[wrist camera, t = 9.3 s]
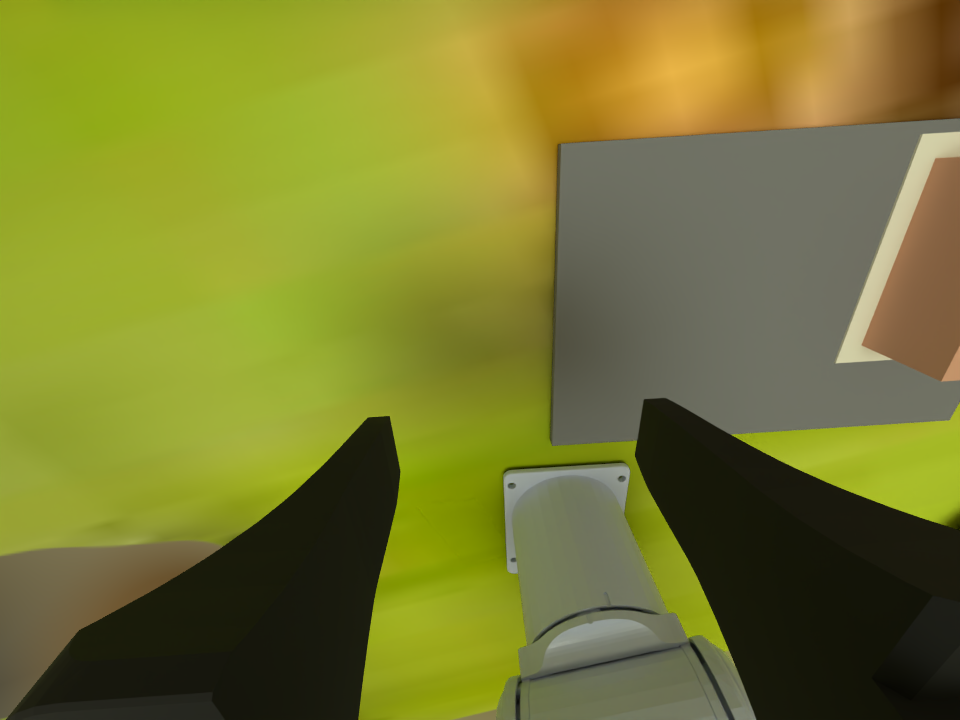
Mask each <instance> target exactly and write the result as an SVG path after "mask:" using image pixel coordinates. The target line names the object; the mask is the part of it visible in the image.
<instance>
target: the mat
mask: <svg viewBox="0 0 960 720" xmlns="http://www.w3.org/2000/svg"><path fill="white" fill-rule="evenodd" d="M946 157H960V119H944V120H928V121H912V122H897V123H881V124H865V125H849V126H833V127H818V128H802V129H786V130H770V131H755V132H739V133H723V134H707V135H692V136H676V137H660V138H644V139H629V140H613V141H597V142H581V143H566V144H558V173H557V210H556V247H555V285H554V322H553V359H552V397H551V434H550V440H551V443H552V446H556V445H571V444H587V443H602V442H618V441H633V440H637V439H638V432H639V426H640V420H641V413H642V407H643V401H644V399H654V398H667V399H669V400H671V401H673V402H675V403H677V404H678V405H680V406H682V407H684V408H685V409H687V410H689V411H691V412H692V413H694V414H696V415H697V416H699V417H701V418H703V419H704V420H706V421H708V422H709V423H711V424H713V425H715V426H716V427H718V428H720V429H721V430H723V431H725V432H727V433H728V434H743V433H758V432H774V431H789V430H805V429H820V428H836V427H852V426H867V425H883V424H898V423H914V422H929V421H945V420H950V418H951V416H952V415H953V413H954V411H955V409H956V408H957V406H958V404H959V402H960V380H957V381H943V382H941V381H939V380H937V379H934V378H932V377H930V376H928V375H926V374H923V373H921V372H919V371H917V370H915V369H912V368H910V367H908V366H906V365H904V364H901V363H899V362H897V361H895V360H893V359H890V358H888V357H886V356H884V355H882V354H879V353H877V352H875V351H873V350H871V349H868V348H866V347H864V346H862V343H863V340H864V338H865V335H866V332H867V330H868V327H869V325H870V322H871V320H872V317H873V315H874V312H875V310H876V307H877V305H878V302H879V300H880V297H881V295H882V292H883V290H884V287H885V284H886V282H887V279H888V277H889V274H890V272H891V269H892V267H893V264H894V262H895V259H896V257H897V254H898V252H899V249H900V247H901V244H902V241H903V239H904V236H905V234H906V231H907V229H908V226H909V224H910V221H911V219H912V216H913V214H914V211H915V209H916V206H917V204H918V201H919V199H920V196H921V193H922V191H923V188H924V186H925V183H926V181H927V178H928V176H929V173H930V171H931V168H932V166H933V163H934V161H935V158H946Z"/></svg>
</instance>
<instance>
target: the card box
mask: <svg viewBox="0 0 960 720" xmlns="http://www.w3.org/2000/svg"><path fill="white" fill-rule="evenodd" d="M862 346H864V347H866V348H868V349H871V350H873V351H875V352H877V353H879V354H882V355H884V356H886V357H888V358H890V359H893V360H895V361H897V362H899V363H901V364H904V365H906V366H908V367H910V368H912V369H915V370H917V371H919V372H921V373H923V374H926V375H928V376H930V377H932V378H934V379H937V380H939V381H941V382H943V381H957V380H960V157H946V158H935V161H934V163H933V166H932V168H931V171H930V173H929V176H928V178H927V181H926V183H925V186H924V188H923V191H922V193H921V196H920V199H919V201H918V204H917V206H916V209H915V211H914V214H913V216H912V219H911V221H910V224H909V226H908V229H907V231H906V234H905V236H904V239H903V241H902V244H901V247H900V249H899V252H898V254H897V257H896V259H895V262H894V264H893V267H892V269H891V272H890V274H889V277H888V279H887V282H886V284H885V287H884V290H883V292H882V295H881V297H880V300H879V302H878V305H877V307H876V310H875V312H874V315H873V317H872V320H871V322H870V325H869V327H868V330H867V332H866V335H865V338H864V340H863V343H862Z"/></svg>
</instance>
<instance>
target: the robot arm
mask: <svg viewBox="0 0 960 720" xmlns="http://www.w3.org/2000/svg"><path fill="white" fill-rule="evenodd" d="M635 457H636V460H637V463H638V465H639V468H640V471H641V473H642V476H643V478H644V480H645V483H646V485H647V487H648V489H649V491H650V493H651V495H652V497H653V498H654V500H655V502H656V504H657V506H658V507H659V509H660V511H661V513H662V515H663V516H664V518H665V520H666V522H667V523H668V525H669V527H670V529H671V530H672V532H673V534H674V536H675V537H676V539H677V541H678V543H679V544H680V546H681V548H682V550H683V551H684V553H685V555H686V557H687V558H688V560H689V562H690V564H691V566H692V568H693V570H694V572H695V574H696V576H697V578H698V580H699V582H700V584H701V586H702V589H703V591H704V593H705V595H706V598H707V600H708V602H709V604H710V606H711V609H712V611H713V613H714V615H715V618H716V620H717V622H718V625H719V627H720V630H721V632H722V634H723V637H724V639H725V642H726V644H727V646H728V649H729V651H730V653H731V656H732V658H733V661H734V663H735V666H736V667H735V666H734V664H733V663H732V661H731V660H730V659H729V657H728V656H727V655H726V653H725V652H724V651H722V650H721V649H720V648H718V647H717V646H715V645H714V644H712V643H710V642H709V641H708V639H706V638H705V637H703V636H701V635H699V636H694V637H689V638H688V639H687V636H686V634H685V632H684V630H683V628H682V626H681V623H680V621H679V619H678V617H677V615H676V614H675V613H669V614H668V611H667V609H666V607H665V605H664V602H663V600H662V598H661V596H660V594H659V591H658V589H657V587H656V585H655V582H654V580H653V578H652V576H651V573H650V571H649V569H648V567H647V565H646V562H645V560H644V558H643V556H642V553H641V551H640V549H639V547H638V545H637V542H636V540H635V538H634V536H633V533H632V531H631V529H630V527H629V525H628V522H627V520H626V518H625V516H624V511H625V504H626V497H627V490H628V483H629V476H630V469H629V467H628V465H627V464H625V463H613V464H597V465H582V466H566V467H550V468H535V469H519V470H509V471H507V472H505V473H504V476H503V481H504V505H505V530H506V555H507V570H508V571H509V572H510V573H518V576H519V584H520V592H521V600H522V608H523V616H524V624H525V632H526V640H527V646H525V647H522V648H519V649H518V653H519V663H520V673H521V675H517V676H513V677H510V678H509V679H508V680H507V682H506V684H505V687H504V691H503V693H502V695H501V697H500V700H499V703H498V707H497V716H496V720H960V530H957V529H953V528H950V527H947V526H944V525H941V524H938V523H935V522H932V521H929V520H925V519H922V518H919V517H917V516H914V515H911V514H908V513H905V512H902V511H899V510H896V509H893V508H891V507H888V506H885V505H883V504H880V503H877V502H875V501H872V500H870V499H867V498H864V497H862V496H859V495H856V494H854V493H851V492H849V491H846V490H844V489H841V488H839V487H836V486H834V485H832V484H829V483H827V482H825V481H822V480H820V479H818V478H816V477H813V476H811V475H809V474H807V473H804V472H802V471H800V470H798V469H796V468H793V467H791V466H789V465H787V464H785V463H783V462H781V461H779V460H777V459H775V458H773V457H771V456H769V455H767V454H765V453H763V452H762V451H760V450H758V449H756V448H754V447H752V446H750V445H748V444H746V443H745V442H743V441H741V440H739V439H737V438H736V437H734V436H732V435H730V434H728V433H727V432H725V431H723V430H721V429H720V428H718V427H716V426H715V425H713V424H711V423H709V422H708V421H706V420H704V419H703V418H701V417H699V416H697V415H696V414H694V413H692V412H691V411H689V410H687V409H685V408H684V407H682V406H680V405H678V404H677V403H675V402H673V401H671V400H669V399H667V398H654V399H644V401H643V407H642V413H641V420H640V426H639V432H638V439H637V445H636V452H635ZM620 476H622V477H620ZM618 477H620V478H618ZM399 480H400V467H399V462H398V457H397V451H396V446H395V441H394V436H393V431H392V426H391V421H390V416H384V417H369V418H367V419H366V420H365V421H364V422H363V423H362V425H361V426H360V427H359V428H358V429H357V430H356V431H355V432H354V433H353V434H352V435H351V436H350V437H349V439H348V440H347V441H346V442H345V443H344V444H343V445H342V446H341V447H340V448H339V449H338V450H337V451H336V452H335V453H334V454H333V455H332V457H331V458H330V459H329V460H328V461H327V462H326V463H325V464H324V465H323V466H322V467H321V468H320V469H319V470H318V471H316V472H315V473H314V474H313V475H312V476H311V477H310V478H309V479H308V480H307V481H306V482H305V483H304V484H303V485H302V486H301V487H300V488H298V489H297V490H296V491H295V492H294V493H293V494H292V495H291V496H289V497H288V498H287V499H286V500H285V501H284V502H282V503H281V504H280V505H279V506H277V507H276V508H275V509H274V510H272V511H271V512H270V513H269V514H267V515H266V516H265V517H264V518H262V519H261V520H260V521H258V522H257V523H256V524H254V525H253V526H252V527H250V528H249V529H247V530H246V531H245V532H243V533H242V534H240V535H239V536H237V537H236V538H235V539H233V540H232V541H230V542H229V543H228V544H226V545H225V546H223V547H222V548H220V549H219V550H218V551H216V552H215V553H213V554H212V555H210V556H209V557H207V558H206V559H204V560H202V561H201V562H200V563H198V564H196V565H195V566H193V567H191V568H190V569H188V570H186V571H185V572H183V573H181V574H180V575H178V576H177V577H175V578H173V579H172V580H170V581H168V582H167V583H165V584H163V585H162V586H160V587H158V588H156V589H155V590H153V591H151V592H149V593H148V594H146V595H144V596H142V597H140V598H138V599H137V600H135V601H133V602H131V603H129V604H127V605H126V606H124V607H122V608H120V609H118V610H116V611H115V612H113V613H111V614H109V615H107V616H105V617H103V618H102V619H100V620H98V621H96V622H94V623H92V624H90V625H88V626H87V627H84V628H83V629H81V630H79V631H78V632H77V633H76V635H75V636H74V637H73V638H72V639H71V641H70V642H69V643H68V644H67V646H66V647H65V648H64V650H63V651H62V652H61V653H60V654H59V655H58V657H57V658H56V659H55V660H54V661H53V663H52V664H51V665H50V666H49V668H48V669H47V670H46V671H45V672H44V674H43V675H42V676H41V677H40V679H39V680H38V681H37V682H36V683H35V685H34V686H33V687H32V688H31V690H30V691H29V692H28V693H27V695H26V696H25V697H24V698H23V700H22V701H21V702H20V703H19V704H18V705H17V707H16V708H15V709H14V711H13V712H12V713H11V714H10V715H9V716H8V718H7V719H6V720H358V716H359V708H360V699H361V691H362V682H363V675H364V667H365V660H366V652H367V645H368V638H369V631H370V624H371V617H372V610H373V604H374V598H375V593H376V588H377V583H378V579H379V575H380V571H381V567H382V563H383V559H384V555H385V550H386V546H387V542H388V538H389V534H390V530H391V526H392V522H393V518H394V514H395V509H396V505H397V498H398V490H399ZM509 483H514V484H512V485H510V484H509ZM736 668H737V669H736Z"/></svg>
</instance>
